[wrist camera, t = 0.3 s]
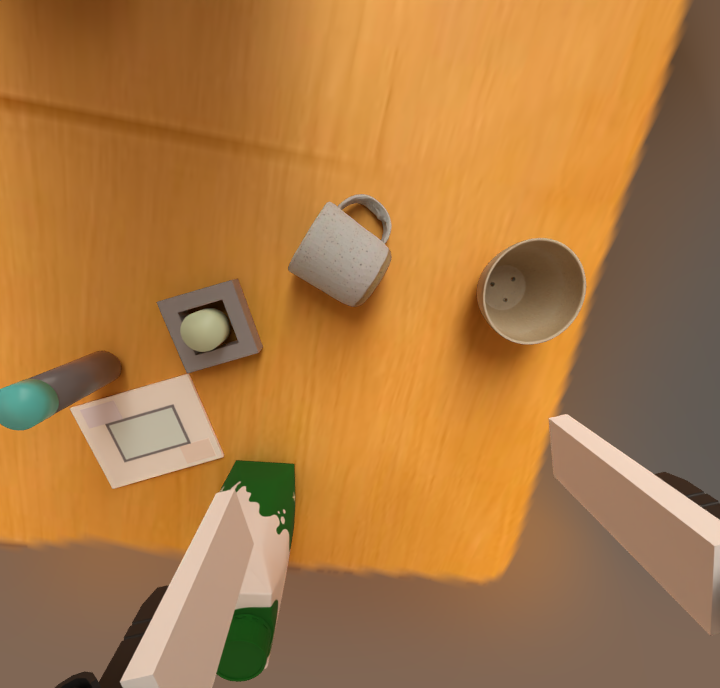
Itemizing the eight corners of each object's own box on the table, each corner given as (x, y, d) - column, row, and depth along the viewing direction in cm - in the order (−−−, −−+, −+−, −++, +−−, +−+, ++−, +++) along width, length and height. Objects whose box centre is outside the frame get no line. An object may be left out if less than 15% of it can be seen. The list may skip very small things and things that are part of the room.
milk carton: (297, 517, 46) (268, 706, 27) (226, 514, 46) (143, 705, 26) (302, 457, 44) (275, 614, 25) (227, 452, 43) (139, 610, 24)
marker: (85, 353, 40) (-20, 394, 28) (117, 344, 40) (25, 381, 28) (100, 384, 41) (4, 435, 29) (131, 374, 40) (48, 423, 29)
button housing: (167, 299, 39) (156, 302, 36) (237, 278, 39) (231, 280, 36) (195, 366, 41) (187, 373, 38) (262, 347, 41) (258, 352, 38)
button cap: (186, 313, 38) (173, 318, 35) (222, 303, 38) (213, 307, 35) (200, 348, 39) (189, 356, 36) (236, 338, 39) (227, 345, 36)
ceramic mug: (354, 307, 40) (359, 318, 33) (290, 268, 39) (280, 269, 31) (406, 224, 39) (424, 215, 31) (342, 179, 37) (344, 159, 30)
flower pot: (562, 276, 41) (608, 281, 34) (505, 346, 42) (537, 363, 35) (497, 222, 39) (532, 215, 32) (440, 297, 41) (461, 305, 34)
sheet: (72, 407, 41) (69, 408, 40) (189, 373, 41) (187, 374, 40) (114, 486, 44) (112, 489, 43) (224, 455, 44) (223, 457, 43)
